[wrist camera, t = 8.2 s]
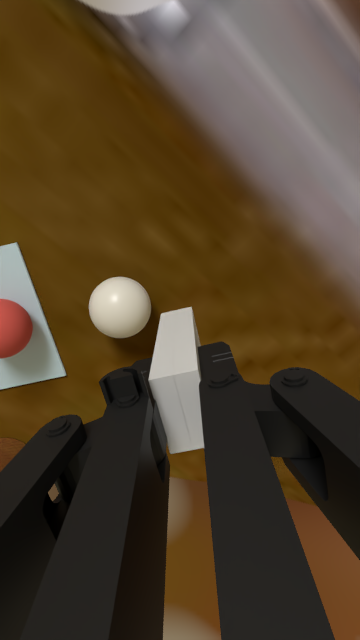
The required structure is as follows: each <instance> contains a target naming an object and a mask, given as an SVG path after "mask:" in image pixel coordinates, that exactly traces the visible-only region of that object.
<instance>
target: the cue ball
mask: <svg viewBox="0 0 360 640" xmlns="http://www.w3.org/2000/svg"><path fill="white" fill-rule="evenodd" d="M89 313H90V317H91V320H92V322H93V323H94V325H95V326H96V328H97V329H98V330H100V331H101V332H102V333H104V334H105V335H108V336H110V337H113V338H127V337H130V336H133V335H135V334H137V333H138V332H140V331H141V330H142V329H143V328H144V327H145V325H146V324H147V322H148V320H149V317H150V314H151V302H150V298H149V295H148V293H147V292H146V290H145V289H144V288H143V286H141V285H140V284H139V283H138V282H136V281H134V280H132V279H130V278H126V277H114V278H110V279H107V280H105V281H103V282H102V283H101V284H99V285H98V286H97V287H96V288H95V290H94V291H93V293H92V295H91V298H90V301H89Z"/></svg>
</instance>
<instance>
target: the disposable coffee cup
mask: <svg viewBox="0 0 360 640" xmlns="http://www.w3.org/2000/svg"><path fill="white" fill-rule="evenodd" d="M25 445H26V444H24V443H23V442H21V441H18V440H16V439H12V438H0V472H1V471H2V470H3V468H4V467H5V466H6V465H7V464H8V463H9V462H10V461H11V460H12V459H13V458H14V457H15V456H16V455H17V453H18V452H19V451H20V450H21V449H22V448H23V447H24V446H25Z"/></svg>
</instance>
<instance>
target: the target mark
mask: <svg viewBox="0 0 360 640" xmlns="http://www.w3.org/2000/svg"><path fill="white" fill-rule="evenodd" d="M0 299H7V300H11V301H13V302H16V303H18V304H19V305H21V306H22V307H23V308H24V309H25V310H26V311H27V312H28V314H29V316H30V318H31V321H32V325H33V331H32V336H31V339H30V341H29V343H28V344H27V345H26V347H25V348H24V349H23V350H22V351H20V352H19V353H17V354H15V355H13V356H11V357H7V358H2V359H0V389H5V388H10V387H15V386H19V385H24V384H29V383H33V382H38V381H43V380H48V379H52V378H57V377H62V376H66V375H67V374H66V372H65V369H64V366H63V363H62V361H61V358H60V355H59V353H58V350H57V347H56V345H55V342H54V339H53V337H52V334H51V331H50V329H49V326H48V323H47V321H46V318H45V315H44V313H43V310H42V307H41V304H40V302H39V299H38V296H37V294H36V291H35V288H34V286H33V283H32V280H31V278H30V275H29V272H28V270H27V267H26V264H25V262H24V259H23V256H22V254H21V251H20V248H19V246H18V243H17V242H16V243H12V244H8V245H4V246H0Z"/></svg>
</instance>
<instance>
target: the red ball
mask: <svg viewBox="0 0 360 640" xmlns="http://www.w3.org/2000/svg"><path fill="white" fill-rule="evenodd" d="M32 331H33V325H32V321H31V318H30V316H29V314H28V312H27V311H26V310H25V309H24V308H23V307H22V306H21V305H19V304H18V303H16V302H13V301H11V300H7V299H0V359H2V358H7V357H11V356H13V355H15V354H17V353H19V352H20V351H22V350H23V349H24V348H25V347H26V345H27V344H28V343H29V341H30V339H31V336H32Z"/></svg>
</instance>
